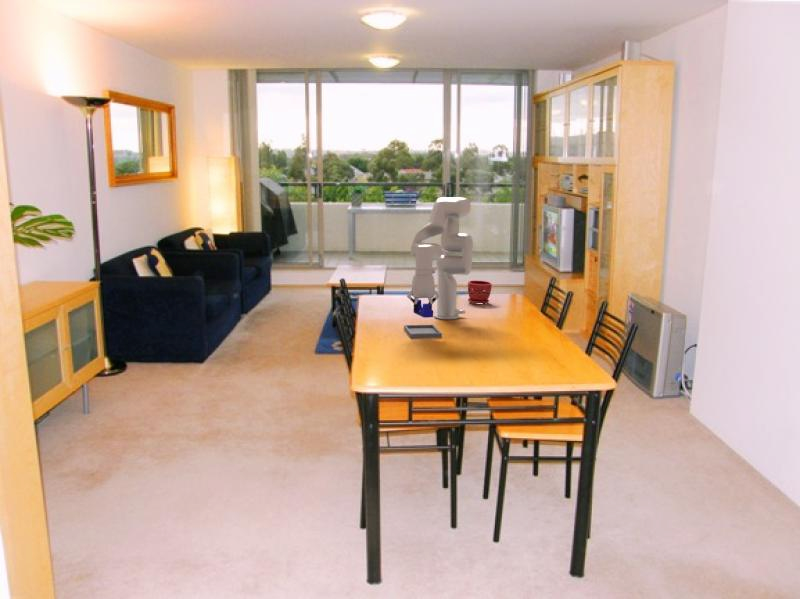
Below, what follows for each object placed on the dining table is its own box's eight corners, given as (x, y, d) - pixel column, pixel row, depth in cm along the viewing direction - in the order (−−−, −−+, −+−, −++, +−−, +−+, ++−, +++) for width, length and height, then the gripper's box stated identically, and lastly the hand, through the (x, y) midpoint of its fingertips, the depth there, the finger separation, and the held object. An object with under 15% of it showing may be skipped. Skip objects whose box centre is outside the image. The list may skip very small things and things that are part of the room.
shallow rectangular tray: (433, 328, 337) (433, 324, 337) (441, 337, 320) (441, 333, 319) (403, 329, 335) (403, 325, 335) (410, 338, 318) (410, 334, 317)
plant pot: (468, 305, 396) (469, 283, 394) (466, 300, 409) (466, 280, 407) (492, 305, 396) (493, 284, 394) (489, 301, 409) (489, 280, 407)
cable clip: (433, 317, 321) (433, 303, 320) (423, 317, 319) (424, 304, 318) (422, 312, 332) (422, 299, 331) (413, 312, 330) (413, 299, 329)
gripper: (440, 271, 327) (439, 310, 331) (403, 271, 325) (402, 311, 328) (444, 273, 320) (443, 313, 323) (406, 274, 317) (405, 314, 320)
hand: (422, 312), depth 326 cm, fingers closed on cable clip, 5 cm apart
